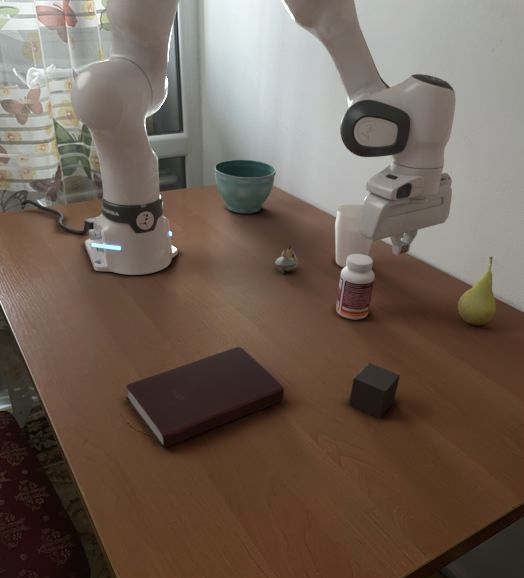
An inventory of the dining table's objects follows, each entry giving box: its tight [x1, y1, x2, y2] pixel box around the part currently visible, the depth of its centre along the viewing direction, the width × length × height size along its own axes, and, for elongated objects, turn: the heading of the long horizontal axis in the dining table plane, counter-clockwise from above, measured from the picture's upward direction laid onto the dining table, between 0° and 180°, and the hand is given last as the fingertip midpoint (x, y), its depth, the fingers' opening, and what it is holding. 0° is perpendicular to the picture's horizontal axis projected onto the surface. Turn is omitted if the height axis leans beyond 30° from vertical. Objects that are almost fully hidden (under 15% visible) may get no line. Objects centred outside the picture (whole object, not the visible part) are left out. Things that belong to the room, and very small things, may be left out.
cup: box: [334, 203, 374, 268], centre depth 120 cm, size 9×9×12 cm
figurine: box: [274, 245, 299, 274], centre depth 116 cm, size 5×4×6 cm
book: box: [125, 346, 285, 449], centre depth 79 cm, size 12×19×3 cm, turn 124°
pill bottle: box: [335, 254, 375, 321], centre depth 101 cm, size 6×6×11 cm
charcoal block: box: [348, 362, 401, 419], centre depth 80 cm, size 5×5×5 cm
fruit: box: [457, 255, 497, 326], centre depth 100 cm, size 7×8×12 cm
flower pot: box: [213, 159, 277, 214], centre depth 146 cm, size 16×16×11 cm
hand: (399, 252), depth 103 cm, fingers closed
